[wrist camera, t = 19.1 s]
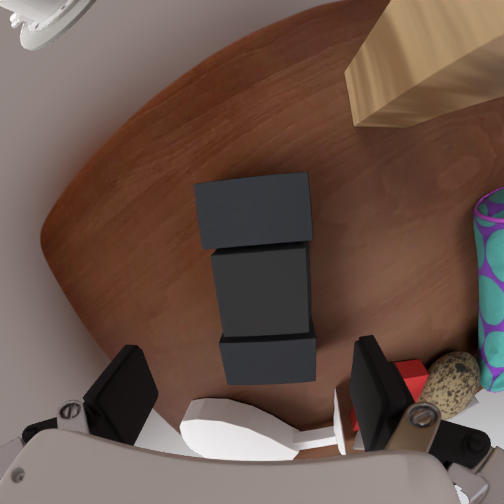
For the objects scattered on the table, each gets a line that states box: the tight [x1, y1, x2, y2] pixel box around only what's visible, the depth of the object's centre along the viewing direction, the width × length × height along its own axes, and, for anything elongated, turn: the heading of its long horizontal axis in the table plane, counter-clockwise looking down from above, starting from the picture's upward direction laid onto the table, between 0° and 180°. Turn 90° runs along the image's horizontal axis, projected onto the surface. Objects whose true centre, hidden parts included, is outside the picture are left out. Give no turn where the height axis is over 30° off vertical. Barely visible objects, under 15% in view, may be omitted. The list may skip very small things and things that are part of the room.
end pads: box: [194, 172, 316, 385], centre depth 21 cm, size 8×16×4 cm, turn 6°
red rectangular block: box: [350, 359, 429, 431], centre depth 22 cm, size 8×7×6 cm
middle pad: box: [211, 241, 309, 337], centre depth 21 cm, size 6×6×4 cm
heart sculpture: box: [180, 390, 346, 461], centre depth 26 cm, size 16×5×18 cm
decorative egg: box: [417, 351, 480, 420], centre depth 21 cm, size 7×7×10 cm
